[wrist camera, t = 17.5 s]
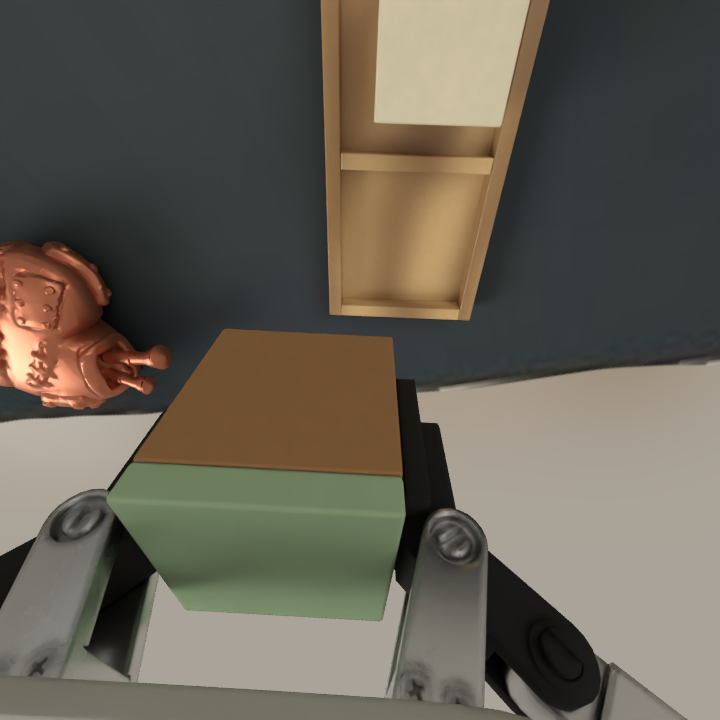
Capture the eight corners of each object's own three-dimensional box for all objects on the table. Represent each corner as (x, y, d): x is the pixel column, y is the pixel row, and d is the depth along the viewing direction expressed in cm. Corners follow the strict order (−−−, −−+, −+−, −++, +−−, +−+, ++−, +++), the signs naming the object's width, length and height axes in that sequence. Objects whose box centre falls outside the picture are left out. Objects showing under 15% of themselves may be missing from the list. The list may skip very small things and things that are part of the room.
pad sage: (249, 440, 13) (184, 611, 8) (223, 327, 10) (100, 500, 6) (380, 447, 13) (382, 622, 8) (392, 336, 10) (406, 516, 5)
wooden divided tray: (332, 304, 25) (329, 314, 23) (322, -108, 14) (316, -131, 12) (464, 309, 24) (469, 320, 23) (561, -102, 13) (581, -124, 12)
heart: (-23, 429, 25) (177, 420, 24) (-172, 263, 18) (94, 244, 17) (43, 381, 30) (210, 373, 29) (-55, 239, 23) (156, 223, 23)
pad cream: (373, 120, 18) (373, 123, 13) (380, -21, 15) (382, -79, 10) (469, 123, 18) (501, 127, 13) (495, -18, 15) (547, -74, 10)
